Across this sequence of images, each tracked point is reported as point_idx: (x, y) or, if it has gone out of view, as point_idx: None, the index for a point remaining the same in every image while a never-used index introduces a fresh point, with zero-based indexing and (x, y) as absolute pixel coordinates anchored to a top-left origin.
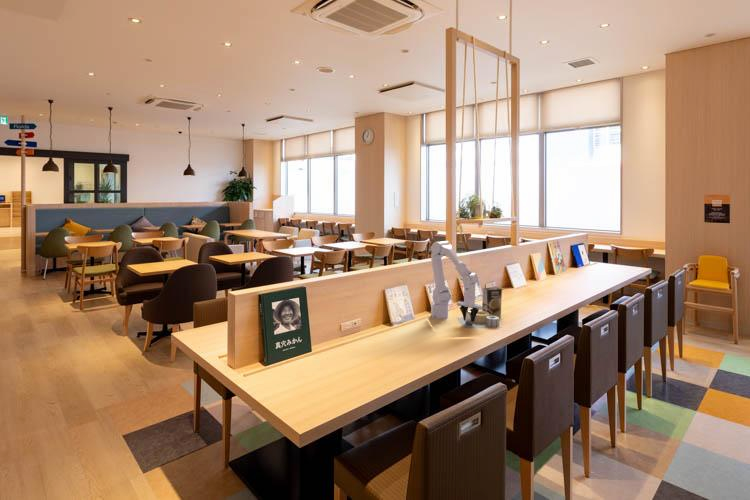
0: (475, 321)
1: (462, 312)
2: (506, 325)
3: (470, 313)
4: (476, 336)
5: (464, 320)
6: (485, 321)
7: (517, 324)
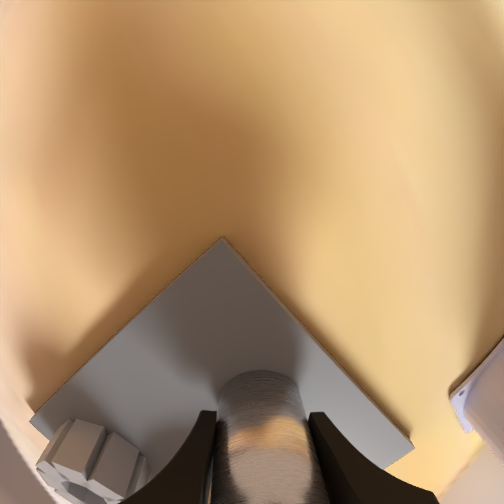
0: None
1: (370, 473)
2: None
3: (225, 496)
4: (41, 127)
5: None
6: None
7: None
